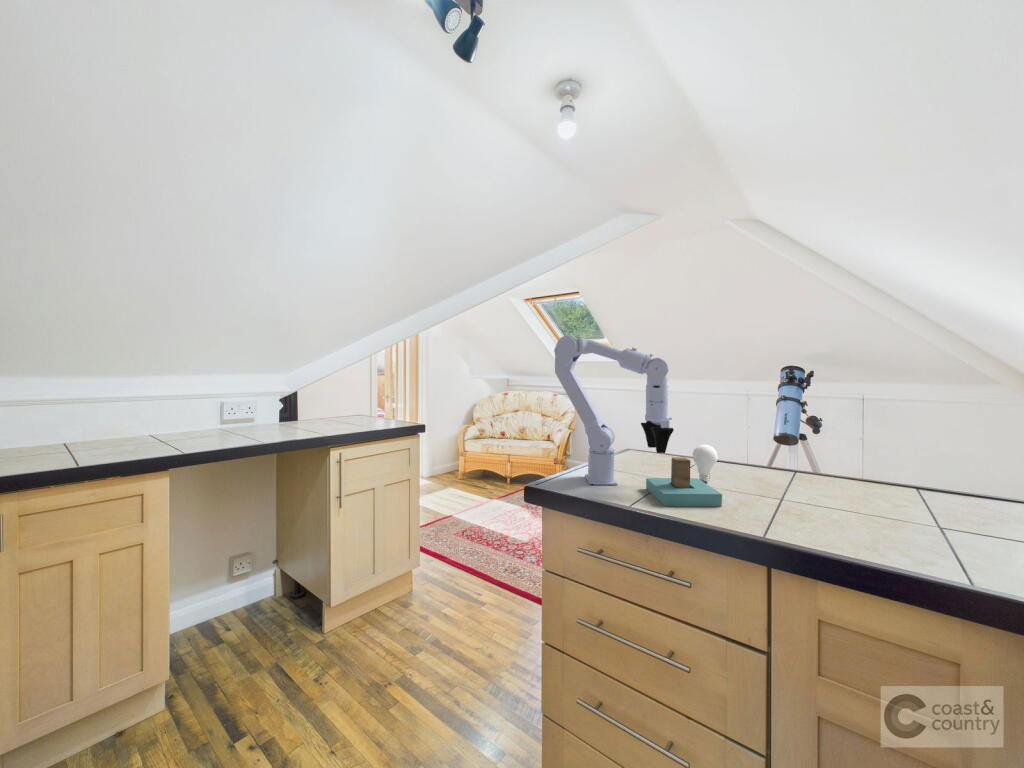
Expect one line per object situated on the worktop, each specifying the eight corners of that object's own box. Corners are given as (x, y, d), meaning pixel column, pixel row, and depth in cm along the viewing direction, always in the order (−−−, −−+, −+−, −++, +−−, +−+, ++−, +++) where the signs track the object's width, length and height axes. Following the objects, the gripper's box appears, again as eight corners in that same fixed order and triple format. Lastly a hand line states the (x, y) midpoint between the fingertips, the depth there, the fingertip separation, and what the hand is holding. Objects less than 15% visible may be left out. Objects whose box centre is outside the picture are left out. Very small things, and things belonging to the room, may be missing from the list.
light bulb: (711, 479, 125) (712, 442, 125) (720, 485, 119) (721, 447, 118) (688, 478, 126) (689, 442, 125) (696, 485, 119) (697, 446, 119)
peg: (670, 494, 110) (671, 457, 110) (684, 495, 110) (685, 457, 110) (675, 499, 107) (676, 460, 106) (689, 499, 107) (690, 460, 106)
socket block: (646, 488, 116) (646, 478, 116) (697, 489, 115) (697, 478, 115) (663, 505, 102) (663, 493, 102) (721, 506, 101) (722, 494, 101)
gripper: (681, 403, 109) (680, 455, 110) (662, 399, 124) (661, 444, 124) (653, 403, 109) (653, 455, 110) (638, 399, 124) (638, 445, 124)
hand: (656, 450), depth 117 cm, fingers open, 7 cm apart
